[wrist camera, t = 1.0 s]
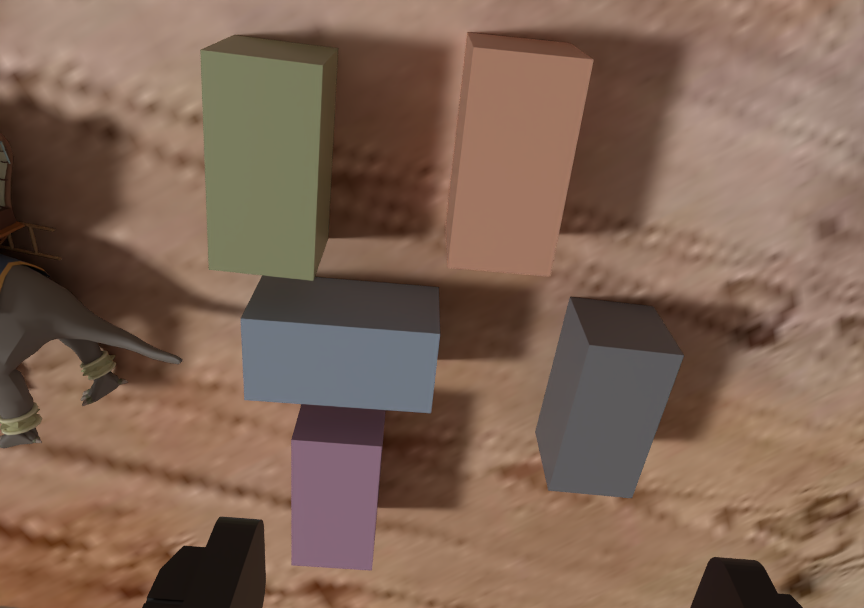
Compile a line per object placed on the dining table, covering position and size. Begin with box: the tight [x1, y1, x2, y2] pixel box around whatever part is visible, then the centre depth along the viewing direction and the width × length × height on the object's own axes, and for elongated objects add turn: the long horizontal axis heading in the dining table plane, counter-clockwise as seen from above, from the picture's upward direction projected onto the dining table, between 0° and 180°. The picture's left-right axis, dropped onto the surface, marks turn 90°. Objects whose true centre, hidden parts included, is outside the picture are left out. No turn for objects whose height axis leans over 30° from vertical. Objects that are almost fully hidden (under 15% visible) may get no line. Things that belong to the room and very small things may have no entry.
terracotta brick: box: [445, 32, 594, 277], centre depth 26 cm, size 8×4×4 cm, turn 175°
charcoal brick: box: [535, 297, 684, 498], centre depth 31 cm, size 8×4×4 cm, turn 173°
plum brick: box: [291, 404, 385, 570], centre depth 34 cm, size 8×4×4 cm, turn 174°
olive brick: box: [200, 35, 338, 281], centre depth 26 cm, size 8×4×4 cm, turn 173°
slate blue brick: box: [241, 275, 440, 413], centre depth 30 cm, size 8×4×4 cm, turn 85°
